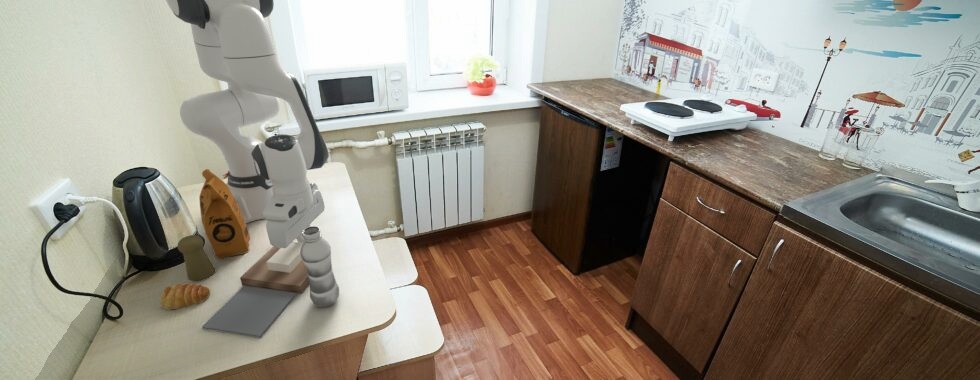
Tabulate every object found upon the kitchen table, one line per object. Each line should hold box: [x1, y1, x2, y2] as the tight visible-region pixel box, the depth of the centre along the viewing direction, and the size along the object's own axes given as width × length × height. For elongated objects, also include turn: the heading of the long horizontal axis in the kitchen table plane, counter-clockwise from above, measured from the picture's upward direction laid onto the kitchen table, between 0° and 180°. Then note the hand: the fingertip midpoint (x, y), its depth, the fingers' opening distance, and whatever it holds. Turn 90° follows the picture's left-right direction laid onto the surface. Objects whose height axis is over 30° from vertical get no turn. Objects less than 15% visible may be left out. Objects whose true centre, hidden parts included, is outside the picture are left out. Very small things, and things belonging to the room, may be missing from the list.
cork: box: [177, 234, 217, 283], centre depth 104 cm, size 6×6×11 cm
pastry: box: [159, 282, 211, 311], centre depth 98 cm, size 9×7×4 cm
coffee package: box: [199, 168, 251, 260], centre depth 112 cm, size 10×12×22 cm
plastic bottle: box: [300, 225, 340, 308], centre depth 94 cm, size 6×7×20 cm
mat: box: [201, 286, 298, 339], centre depth 95 cm, size 14×14×1 cm
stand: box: [239, 246, 310, 295], centre depth 107 cm, size 16×14×2 cm
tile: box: [267, 241, 303, 273], centre depth 107 cm, size 6×9×2 cm, turn 171°
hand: (304, 241), depth 113 cm, fingers closed
